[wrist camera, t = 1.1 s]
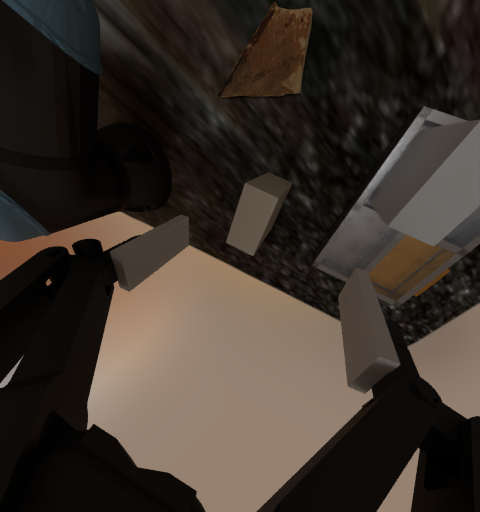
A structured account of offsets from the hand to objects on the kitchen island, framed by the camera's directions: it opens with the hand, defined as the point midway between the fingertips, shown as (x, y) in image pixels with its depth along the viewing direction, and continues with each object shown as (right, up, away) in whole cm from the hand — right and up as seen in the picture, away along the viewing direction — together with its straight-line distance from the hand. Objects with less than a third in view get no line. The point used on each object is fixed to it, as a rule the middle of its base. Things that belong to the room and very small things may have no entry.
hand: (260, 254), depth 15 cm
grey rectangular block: (+18, +9, +7) cm, 22 cm away
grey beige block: (+3, +8, +16) cm, 18 cm away
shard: (+2, +22, +9) cm, 24 cm away
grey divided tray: (+20, +4, +10) cm, 23 cm away
